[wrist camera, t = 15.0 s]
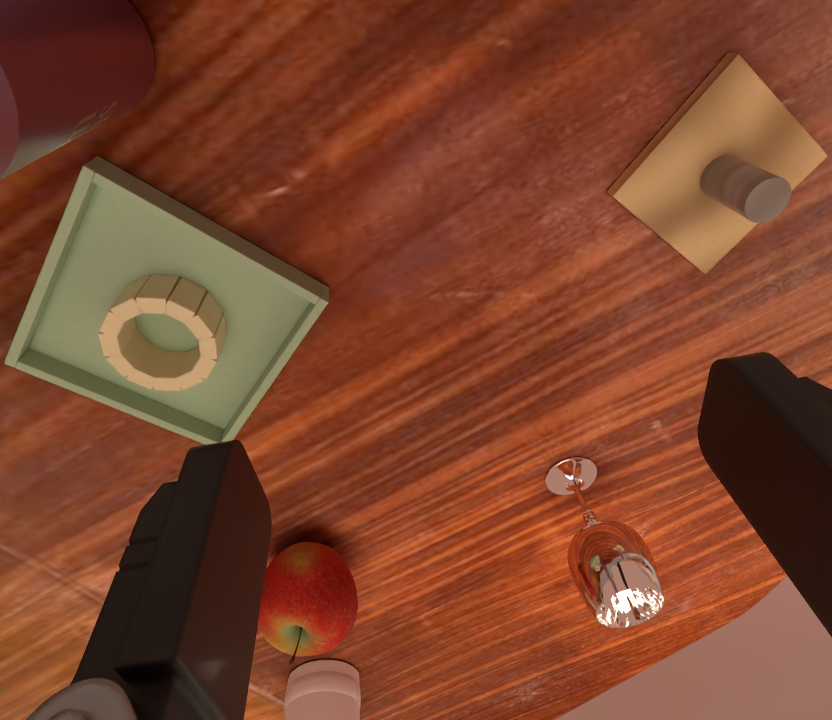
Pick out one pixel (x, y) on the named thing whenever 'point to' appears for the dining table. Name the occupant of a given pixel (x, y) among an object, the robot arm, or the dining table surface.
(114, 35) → the beverage can
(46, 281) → the tray
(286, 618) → the apple
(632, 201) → the peg stand
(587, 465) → the wineglass
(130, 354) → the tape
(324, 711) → the bottle
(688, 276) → the dining table surface
